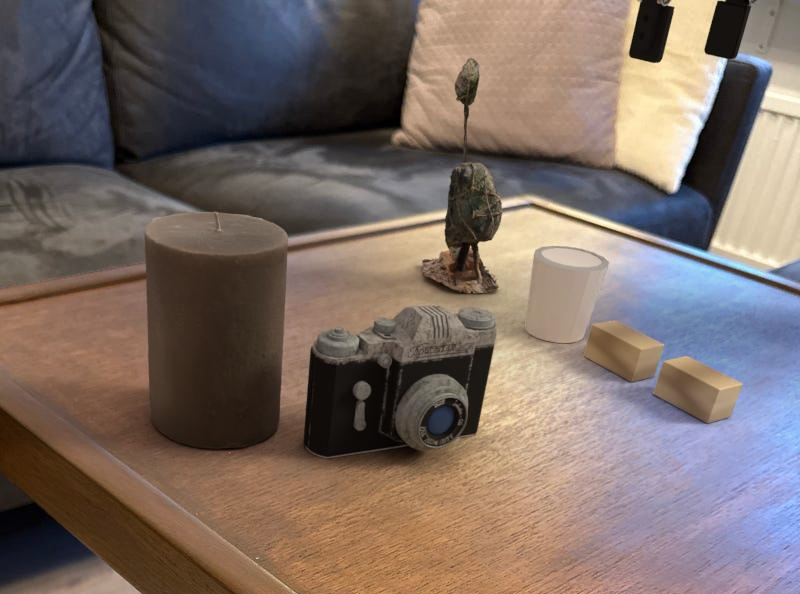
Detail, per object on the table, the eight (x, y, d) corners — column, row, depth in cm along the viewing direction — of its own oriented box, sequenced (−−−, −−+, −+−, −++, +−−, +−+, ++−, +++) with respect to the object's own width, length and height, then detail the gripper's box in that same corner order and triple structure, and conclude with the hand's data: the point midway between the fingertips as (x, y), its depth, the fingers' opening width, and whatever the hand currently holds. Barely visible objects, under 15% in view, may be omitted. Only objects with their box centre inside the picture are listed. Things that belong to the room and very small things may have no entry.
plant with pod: (421, 298, 98) (454, 70, 85) (419, 261, 106) (449, 49, 94) (502, 307, 98) (547, 79, 85) (493, 269, 106) (533, 58, 94)
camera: (334, 482, 68) (348, 343, 62) (294, 437, 73) (304, 304, 66) (510, 452, 74) (540, 322, 67) (463, 412, 78) (487, 287, 72)
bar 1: (654, 376, 87) (664, 344, 85) (631, 382, 86) (640, 349, 84) (606, 351, 91) (614, 319, 89) (582, 356, 89) (591, 324, 88)
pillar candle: (253, 461, 69) (262, 243, 60) (127, 433, 71) (116, 217, 62) (296, 406, 77) (310, 204, 67) (180, 381, 78) (178, 181, 69)
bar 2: (730, 417, 82) (743, 383, 80) (707, 423, 80) (719, 389, 78) (676, 388, 85) (686, 355, 84) (652, 394, 84) (662, 360, 82)
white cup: (560, 351, 90) (579, 274, 85) (503, 326, 94) (518, 251, 89) (604, 336, 94) (624, 262, 89) (548, 312, 97) (565, 240, 93)
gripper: (715, -213, 68) (647, 70, 78) (860, -192, 76) (781, 62, 86) (633, -214, 72) (580, 53, 83) (778, -194, 80) (713, 48, 91)
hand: (682, 58), depth 85 cm, fingers open, 9 cm apart
